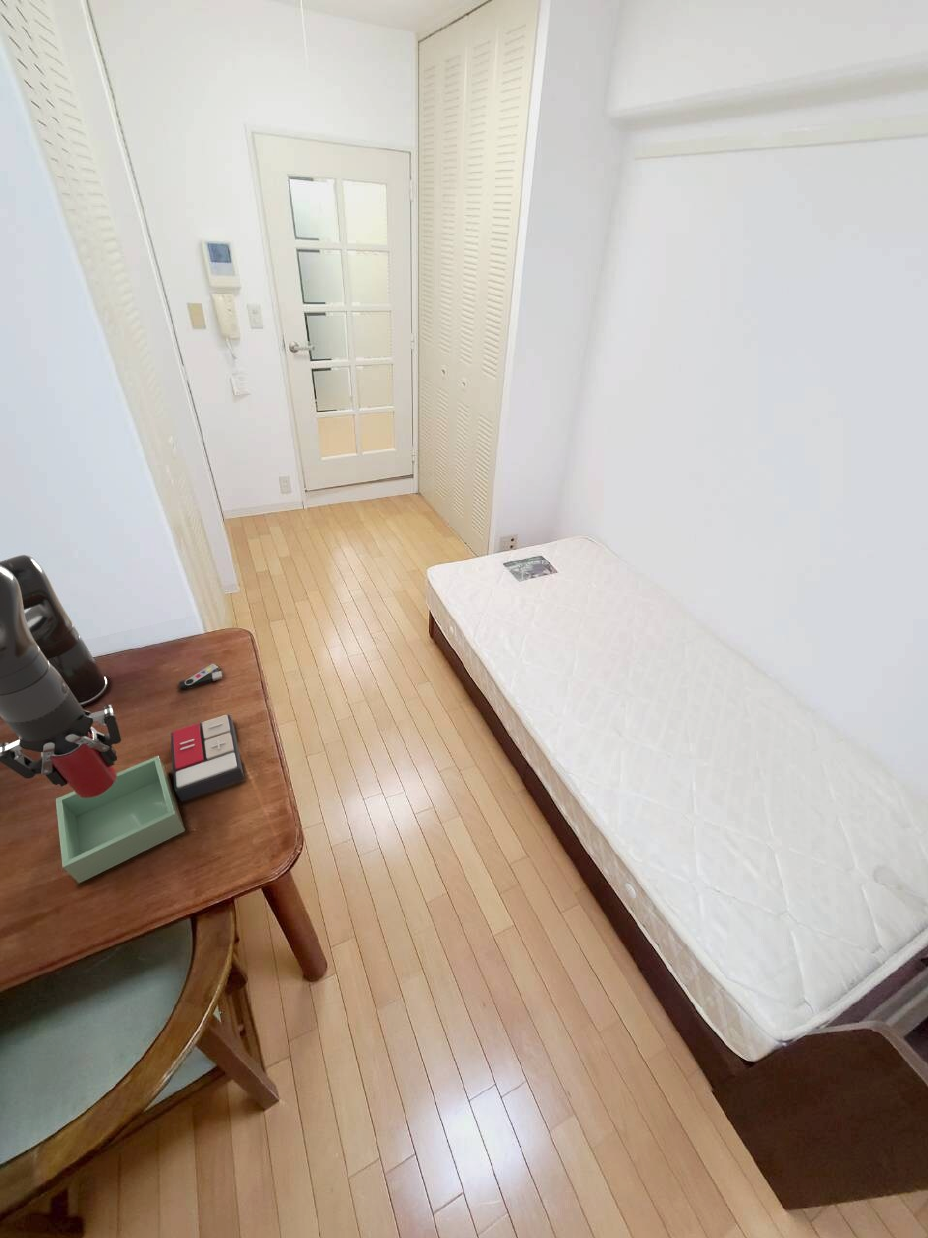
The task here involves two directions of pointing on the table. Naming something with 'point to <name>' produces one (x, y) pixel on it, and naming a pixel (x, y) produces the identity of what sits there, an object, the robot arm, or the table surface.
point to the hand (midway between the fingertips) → (87, 771)
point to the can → (84, 769)
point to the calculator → (205, 757)
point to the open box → (117, 820)
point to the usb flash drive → (202, 677)
